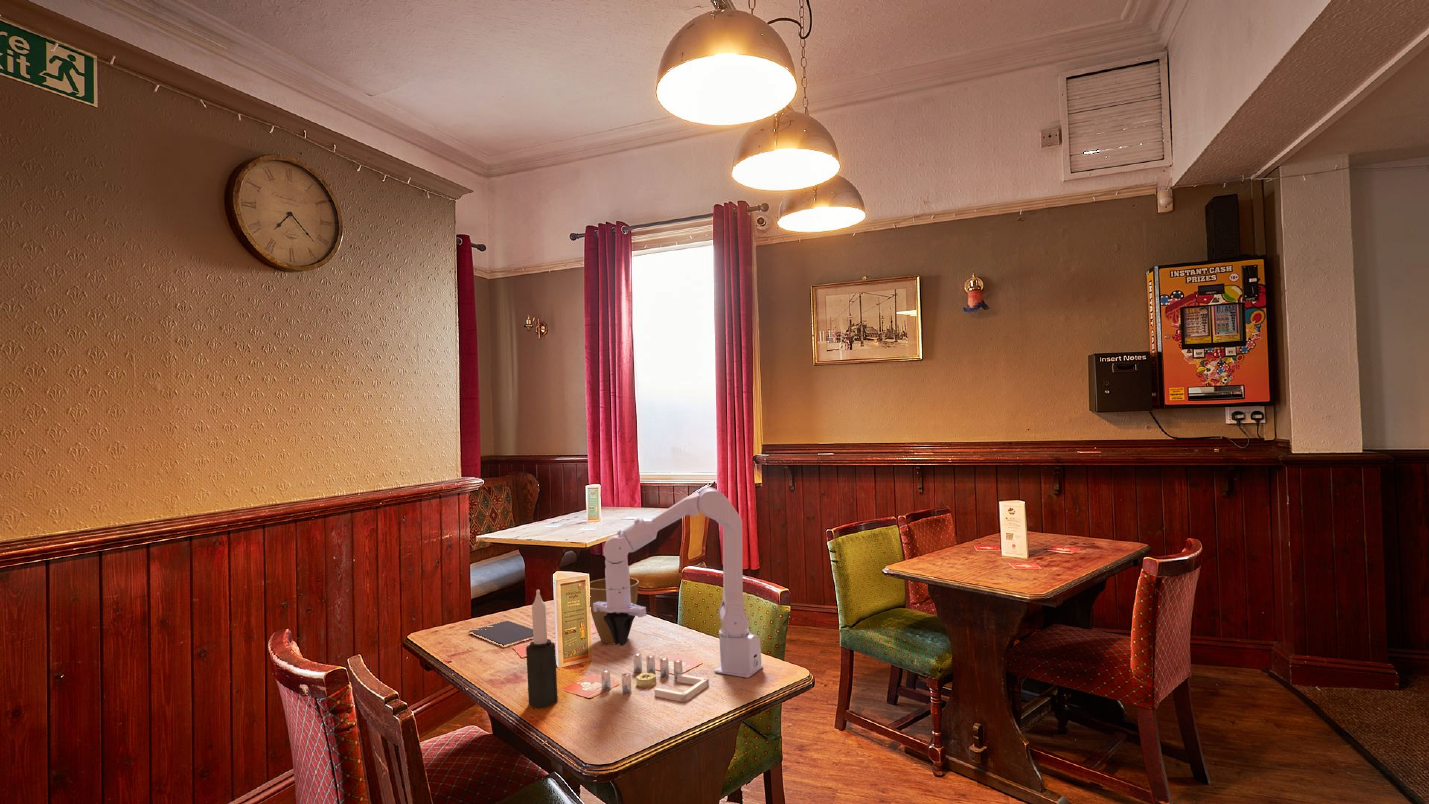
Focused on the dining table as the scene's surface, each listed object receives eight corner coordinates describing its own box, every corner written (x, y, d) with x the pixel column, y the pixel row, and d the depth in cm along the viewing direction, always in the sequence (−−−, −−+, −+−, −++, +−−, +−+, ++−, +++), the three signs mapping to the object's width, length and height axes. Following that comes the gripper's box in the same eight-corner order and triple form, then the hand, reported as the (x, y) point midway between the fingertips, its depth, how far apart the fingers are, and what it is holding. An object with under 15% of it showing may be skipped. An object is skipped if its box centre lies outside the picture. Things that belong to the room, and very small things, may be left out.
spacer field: (684, 677, 164) (683, 660, 164) (649, 699, 152) (648, 681, 152) (637, 668, 171) (636, 652, 172) (600, 689, 159) (599, 672, 160)
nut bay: (708, 685, 158) (708, 678, 158) (684, 702, 150) (684, 695, 150) (679, 680, 163) (679, 673, 163) (654, 696, 154) (654, 689, 154)
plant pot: (638, 647, 188) (635, 587, 188) (583, 649, 188) (580, 590, 188) (644, 630, 203) (641, 575, 203) (593, 632, 203) (591, 577, 203)
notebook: (468, 636, 208) (504, 650, 193) (468, 630, 208) (503, 644, 193) (507, 625, 217) (544, 637, 202) (507, 620, 217) (543, 632, 202)
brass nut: (659, 682, 162) (658, 673, 162) (647, 689, 158) (647, 680, 158) (645, 680, 164) (645, 671, 164) (633, 687, 160) (633, 678, 160)
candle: (543, 709, 150) (537, 593, 151) (526, 705, 153) (521, 591, 153) (560, 700, 154) (554, 588, 155) (543, 696, 157) (538, 586, 158)
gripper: (583, 588, 166) (586, 645, 165) (631, 593, 158) (634, 653, 158) (602, 581, 172) (605, 636, 171) (650, 586, 164) (653, 643, 164)
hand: (620, 644), depth 165 cm, fingers closed
